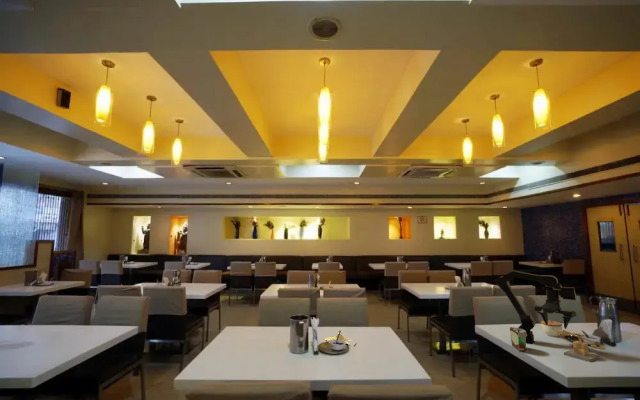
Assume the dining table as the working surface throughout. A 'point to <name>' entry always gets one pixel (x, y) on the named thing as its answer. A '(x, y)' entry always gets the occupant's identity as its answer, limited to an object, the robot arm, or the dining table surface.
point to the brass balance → (597, 344)
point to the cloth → (339, 338)
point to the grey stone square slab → (587, 358)
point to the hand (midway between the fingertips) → (555, 326)
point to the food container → (518, 339)
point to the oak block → (580, 348)
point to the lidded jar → (552, 328)
